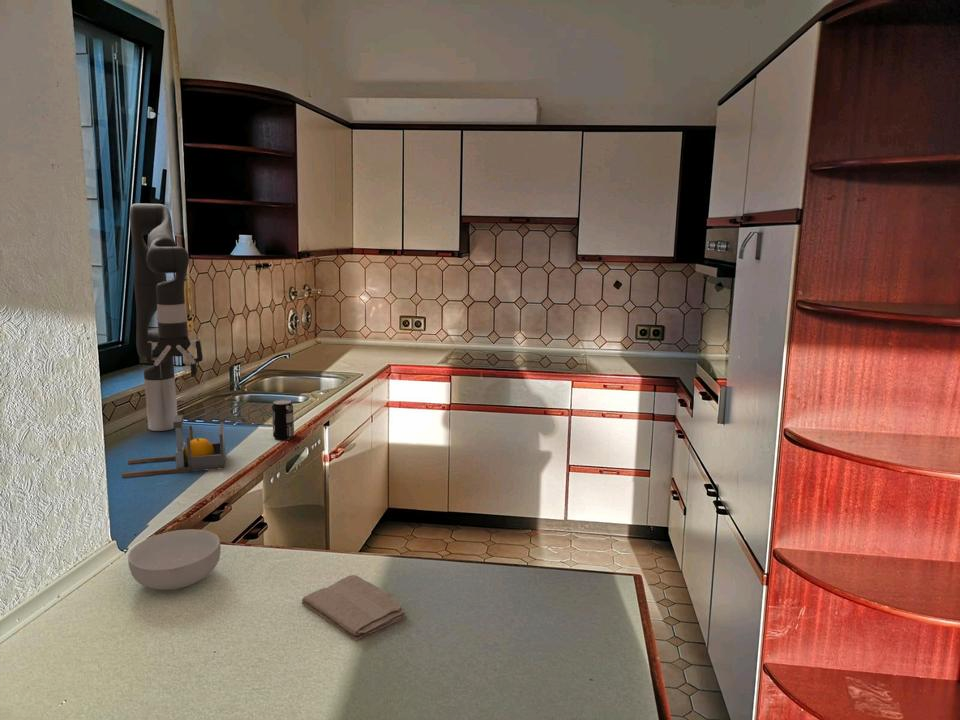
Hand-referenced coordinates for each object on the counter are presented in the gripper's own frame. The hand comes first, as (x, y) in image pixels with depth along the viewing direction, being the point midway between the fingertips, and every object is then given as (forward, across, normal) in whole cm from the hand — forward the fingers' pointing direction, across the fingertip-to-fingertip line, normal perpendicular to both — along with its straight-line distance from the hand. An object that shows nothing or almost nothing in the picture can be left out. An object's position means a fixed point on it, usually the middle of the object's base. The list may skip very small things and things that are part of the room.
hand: (176, 377), depth 200 cm
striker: (+26, 0, 0) cm, 26 cm away
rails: (+26, +6, 0) cm, 27 cm away
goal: (+26, -6, 0) cm, 27 cm away
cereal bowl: (+26, -4, +70) cm, 75 cm away
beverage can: (+26, -29, -19) cm, 43 cm away
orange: (+26, -5, 0) cm, 27 cm away
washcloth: (+26, -36, +91) cm, 101 cm away
